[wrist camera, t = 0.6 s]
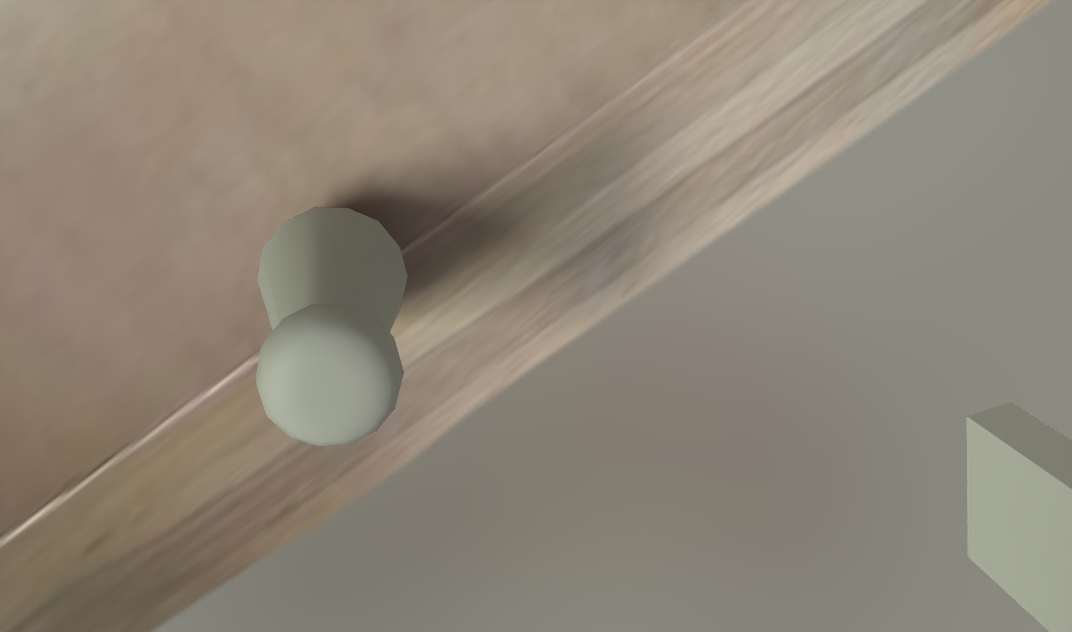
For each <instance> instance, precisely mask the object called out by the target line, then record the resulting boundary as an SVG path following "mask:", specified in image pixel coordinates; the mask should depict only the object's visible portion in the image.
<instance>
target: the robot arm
mask: <svg viewBox="0 0 1072 632" xmlns="http://www.w3.org/2000/svg"><path fill="white" fill-rule="evenodd" d="M967 497H968V498H967V501H968V504H967V505H968V557H969V558H970V559H971V560H972V561H973V562H974V563H976V564H977V565H978V566H979V567H980V568H981V569H982V570H983V571H984V572H985V573H986V574H988V575H989V576H990V577H991V578H992V579H993V580H994V581H995V582H996V583H997V584H998V585H999V586H1001V587H1002V588H1003V589H1004V590H1005V591H1006V592H1007V593H1008V594H1009V595H1010V596H1011V597H1013V598H1014V599H1015V600H1016V601H1017V602H1018V603H1019V604H1020V605H1021V606H1022V607H1023V608H1025V609H1026V610H1027V611H1028V612H1029V613H1030V614H1031V615H1032V616H1033V617H1034V618H1036V619H1037V620H1038V621H1039V622H1040V623H1041V624H1042V625H1043V626H1044V627H1045V628H1046V629H1047V630H1049V631H1050V632H1072V440H1070V439H1069V438H1067V437H1065V436H1064V435H1062V434H1061V433H1059V432H1057V431H1056V430H1054V429H1053V428H1051V427H1049V426H1048V425H1046V424H1045V423H1043V422H1041V421H1040V420H1038V419H1037V418H1035V417H1034V416H1032V415H1030V414H1029V413H1027V412H1026V411H1024V410H1022V409H1021V408H1019V407H1018V406H1016V405H1015V404H1013V403H1008V404H1004V405H1002V406H998V407H995V408H992V409H989V410H986V411H982V412H979V413H976V414H973V415H969V416H967Z"/></svg>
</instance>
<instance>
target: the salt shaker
mask: <svg viewBox="0 0 1072 632" xmlns="http://www.w3.org/2000/svg"><path fill="white" fill-rule="evenodd" d="M407 278H408V275H407V272H406V268H405V264H404V261H403V257H402V253H401V250H400V247H399V245H398V244H397V243H396V242H395V241H394V239H393V238H392V237H391V236H390V235H389V233H388V232H387V231H386V230H385V228H384V227H383V226H382V225H381V224H380V222H379V221H377V220H375V219H373V218H370V217H368V216H366V215H363V214H361V213H358V212H356V211H354V210H351V209H349V208H325V207H314V208H312V209H310V210H308V211H306V212H304V213H302V214H300V215H298V216H296V217H294V218H292V219H290V220H288V221H286V222H285V223H283V224H282V226H281V227H280V228H279V229H278V230H277V232H276V233H275V234H274V235H273V237H272V238H271V239H270V240H269V242H268V243H267V244H266V245H265V246H264V248H263V250H262V256H261V262H260V268H259V274H258V284H259V287H260V290H261V293H262V296H263V299H264V303H265V306H266V309H267V312H268V316H269V319H270V323H271V327H272V330H273V331H272V332H271V334H270V335H269V336H268V337H267V338H266V340H265V341H264V342H263V345H262V347H261V351H260V357H259V363H258V369H257V375H256V383H257V387H258V391H259V394H260V397H261V400H262V403H263V406H264V409H265V412H266V415H267V416H268V417H269V418H270V419H271V420H272V421H273V422H274V423H275V424H276V425H277V426H278V427H280V428H281V429H282V430H283V431H284V432H285V433H286V434H287V435H288V436H290V437H293V438H296V439H299V440H301V441H304V442H307V443H310V444H313V445H316V446H328V445H342V444H350V443H352V442H354V441H356V440H358V439H360V438H363V437H365V436H367V435H369V434H371V433H373V432H375V431H377V429H378V428H379V427H380V426H381V425H382V423H383V422H384V421H385V420H386V419H387V417H388V416H389V415H390V414H391V412H392V411H393V410H394V409H395V405H396V402H397V398H398V394H399V390H400V386H401V382H402V378H403V374H404V371H403V367H402V364H401V360H400V357H399V353H398V350H397V346H396V343H395V340H394V337H393V336H392V335H391V334H390V331H391V328H392V326H393V324H394V321H395V319H396V316H397V314H398V311H399V309H400V307H401V303H402V299H403V294H404V290H405V286H406V282H407Z"/></svg>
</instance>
